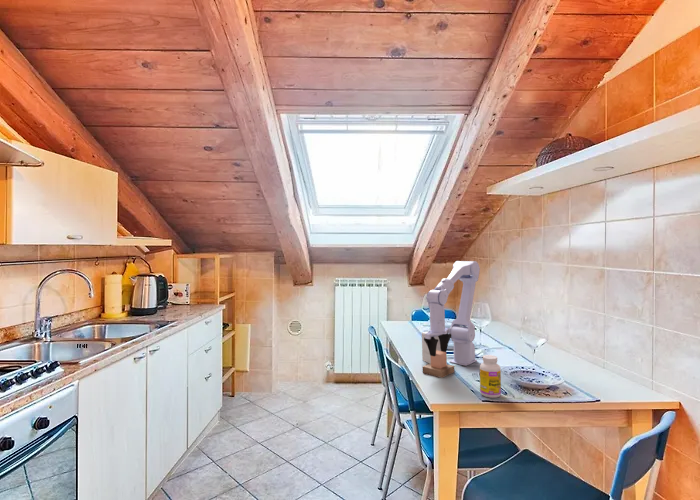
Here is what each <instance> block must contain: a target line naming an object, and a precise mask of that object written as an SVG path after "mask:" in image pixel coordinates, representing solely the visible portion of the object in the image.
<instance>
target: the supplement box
mask: <svg viewBox="0 0 700 500" xmlns="http://www.w3.org/2000/svg"><path fill="white" fill-rule="evenodd" d="M428 332H429V331H424V332H421V348H422V350H421V352H422V354H421V355H422V359H421V360H422V361H424V362H426V363H428V364H430V363H431V355H430V352H429V349H428V346H427V344H426V342H425V341H424V337H425V334H426V333H428ZM434 338H435V339H438V342H437V347H436V350H438V351H441V348H440V341H439V337H438V336H436V337H434Z"/></svg>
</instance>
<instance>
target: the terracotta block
mask: <svg viewBox="0 0 700 500" xmlns="http://www.w3.org/2000/svg"><path fill="white" fill-rule="evenodd" d="M447 356H448V355H447V351H446V352H443V351H438V350H436V356H431V366H432V367H436V368H440V369H441V368H443V367H445V366H447V364H448V361H447V358H448V357H447Z"/></svg>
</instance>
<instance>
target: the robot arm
mask: <svg viewBox="0 0 700 500" xmlns="http://www.w3.org/2000/svg"><path fill="white" fill-rule="evenodd" d="M480 270H481V267H480V264H479V262H478V261H476V260H474V261H473V260H469V261H468V260H467V261H466V260H461V261H460V260H456V261H455V262H454V263H453V265H452V270H451V272H450V274H448V276H447V278H442V279H441V280H440V282H439V283H437V285H436V286H435V287H434V289H431V290H429V291H428V292H427V295H426V299H425V300H426V302H427V304H428V306H427V307H428V309H429V321H430V323H429V325H430V327H429V328H430V330H428V331H427V332H428V333H426V334H425V337H424V341H425V342H426V344H427V346H428V349H429V352H430V355H431V356H436V347H437V342H438V339H435V338H434V337H436V336H438V337H439V341H440V348H441V351H443V352H446V353H447V351H448V346H449V343H450V340H451V341H452V343H453V359H451V360H449V363H451V364H452V363H453V364H456V365H461V366H469V365H471V364H473V363H475V362H477V361H478V360H477V359H476V349H475V348H476V346H475V343H474V342H473V341H475V338H476V331H475V330H476V326H475V324H474V323H473V322H472V321H471V314H472V308H473V301H474V296H475V290H476V283H477V282H478V281H479V275H480ZM458 280H459V281H460V282H462V284H463V285H462V290H461V294H460V295H461V296H460V300H459V301H460V302H459V308H458V313H457V318H455V319H454V320H452V321H451V324H450V327H446V317H445V316H446V314H445V305H446V303H447V302H448V298H449V295H450V293H451V292H452V291H453V289H454V288H455V285H454V284H455V283H457V281H458Z"/></svg>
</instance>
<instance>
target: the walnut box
mask: <svg viewBox="0 0 700 500" xmlns="http://www.w3.org/2000/svg"><path fill="white" fill-rule="evenodd" d="M422 373H423V374H425V375H430V376H433V377H437V378H444V377H446V376H449V375H451V374H454V373H455V365H453V364H449V363H447V366H445V367H443V368H441V369H440V368H436V367H432V366H431V363H428V364H426V365H423V366H422Z"/></svg>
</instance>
